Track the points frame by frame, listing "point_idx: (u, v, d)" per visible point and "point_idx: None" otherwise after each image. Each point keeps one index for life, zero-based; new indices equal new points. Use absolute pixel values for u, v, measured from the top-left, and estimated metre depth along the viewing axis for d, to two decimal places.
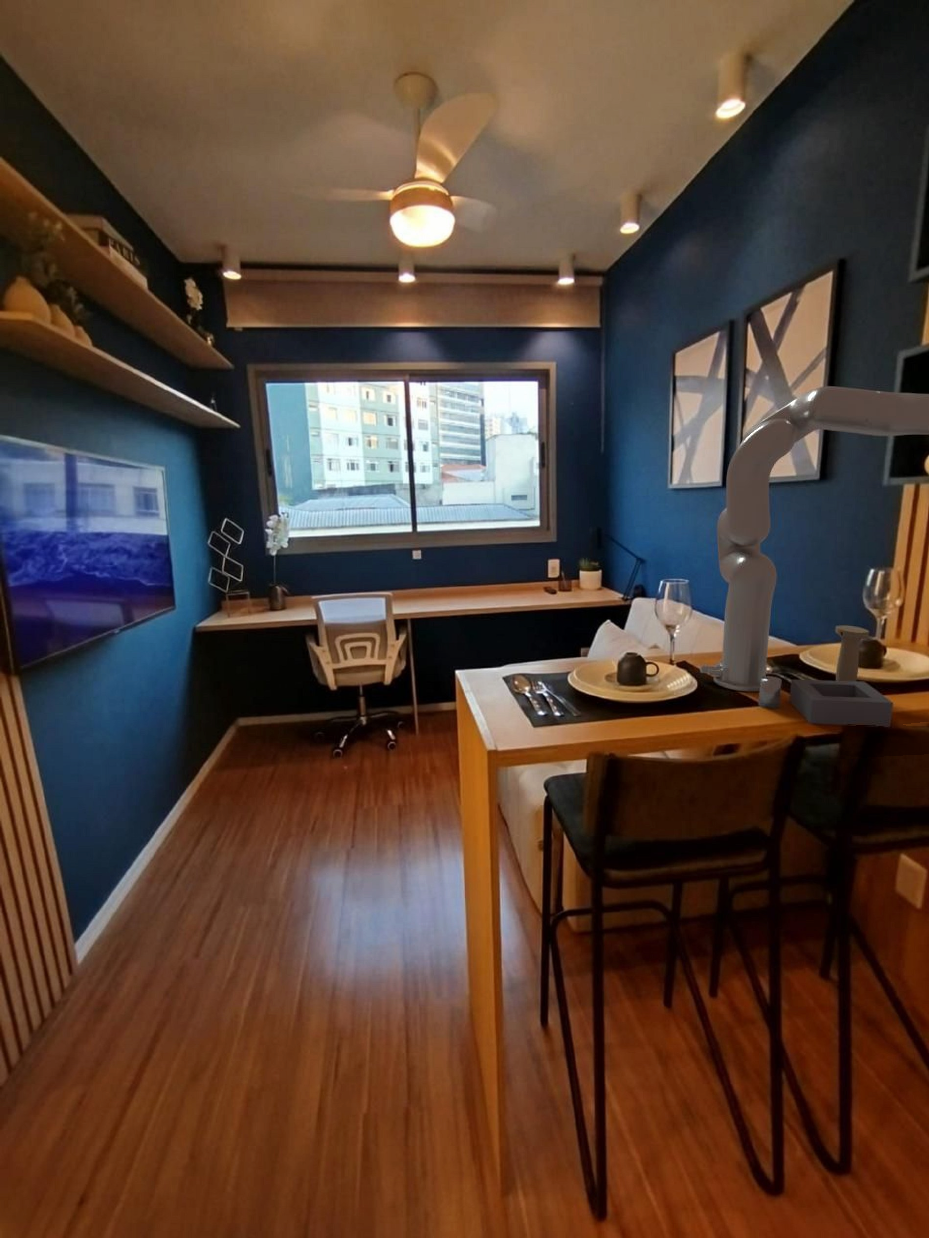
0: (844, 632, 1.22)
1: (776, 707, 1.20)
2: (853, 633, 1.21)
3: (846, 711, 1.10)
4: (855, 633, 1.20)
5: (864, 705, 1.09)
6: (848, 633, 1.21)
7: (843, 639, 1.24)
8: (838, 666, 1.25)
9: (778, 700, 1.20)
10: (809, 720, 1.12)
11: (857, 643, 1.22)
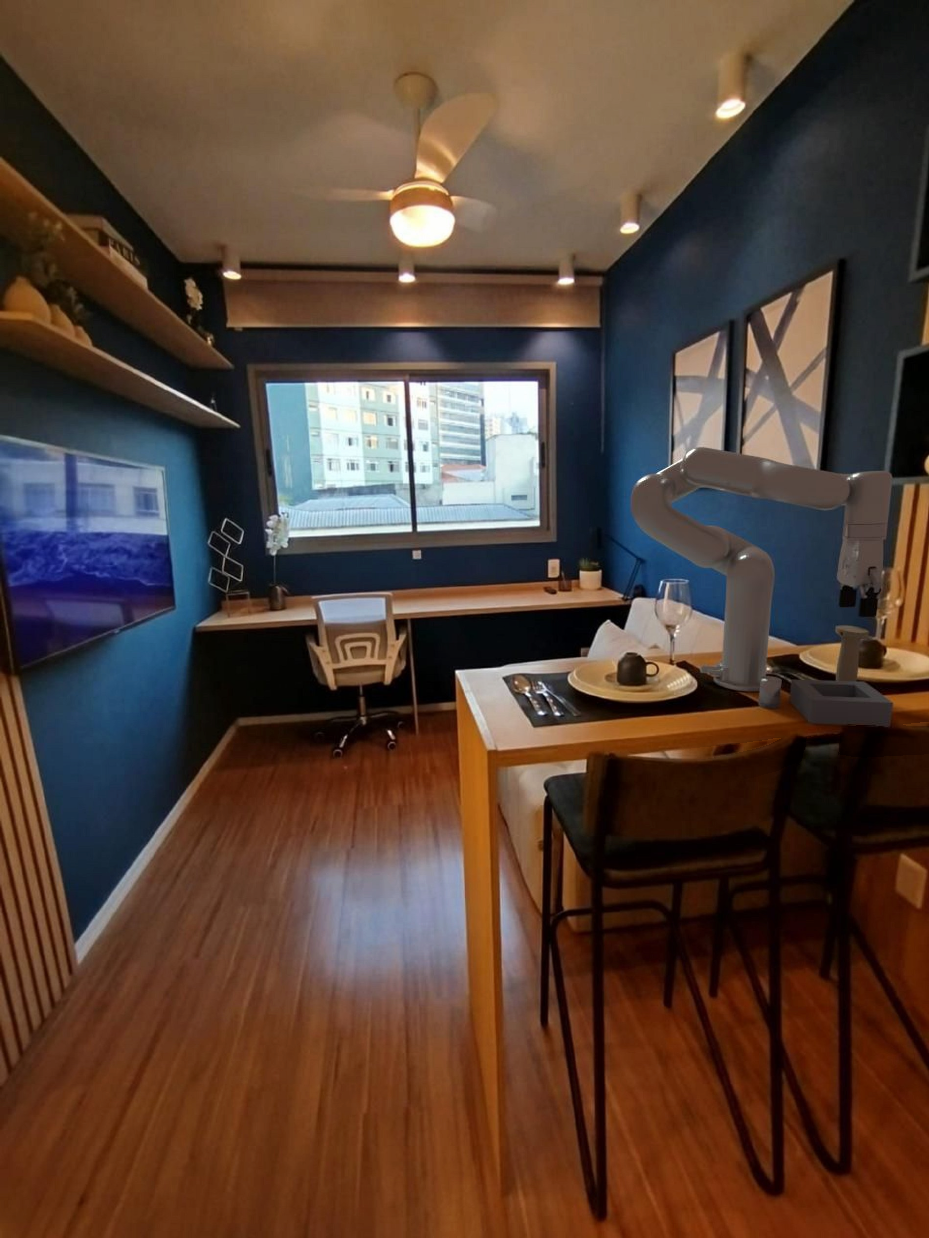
0: (844, 632, 1.22)
1: (776, 707, 1.20)
2: (853, 633, 1.21)
3: (846, 711, 1.10)
4: (855, 633, 1.20)
5: (864, 705, 1.09)
6: (848, 633, 1.21)
7: (843, 639, 1.24)
8: (838, 666, 1.25)
9: (778, 700, 1.20)
10: (809, 720, 1.12)
11: (857, 643, 1.22)
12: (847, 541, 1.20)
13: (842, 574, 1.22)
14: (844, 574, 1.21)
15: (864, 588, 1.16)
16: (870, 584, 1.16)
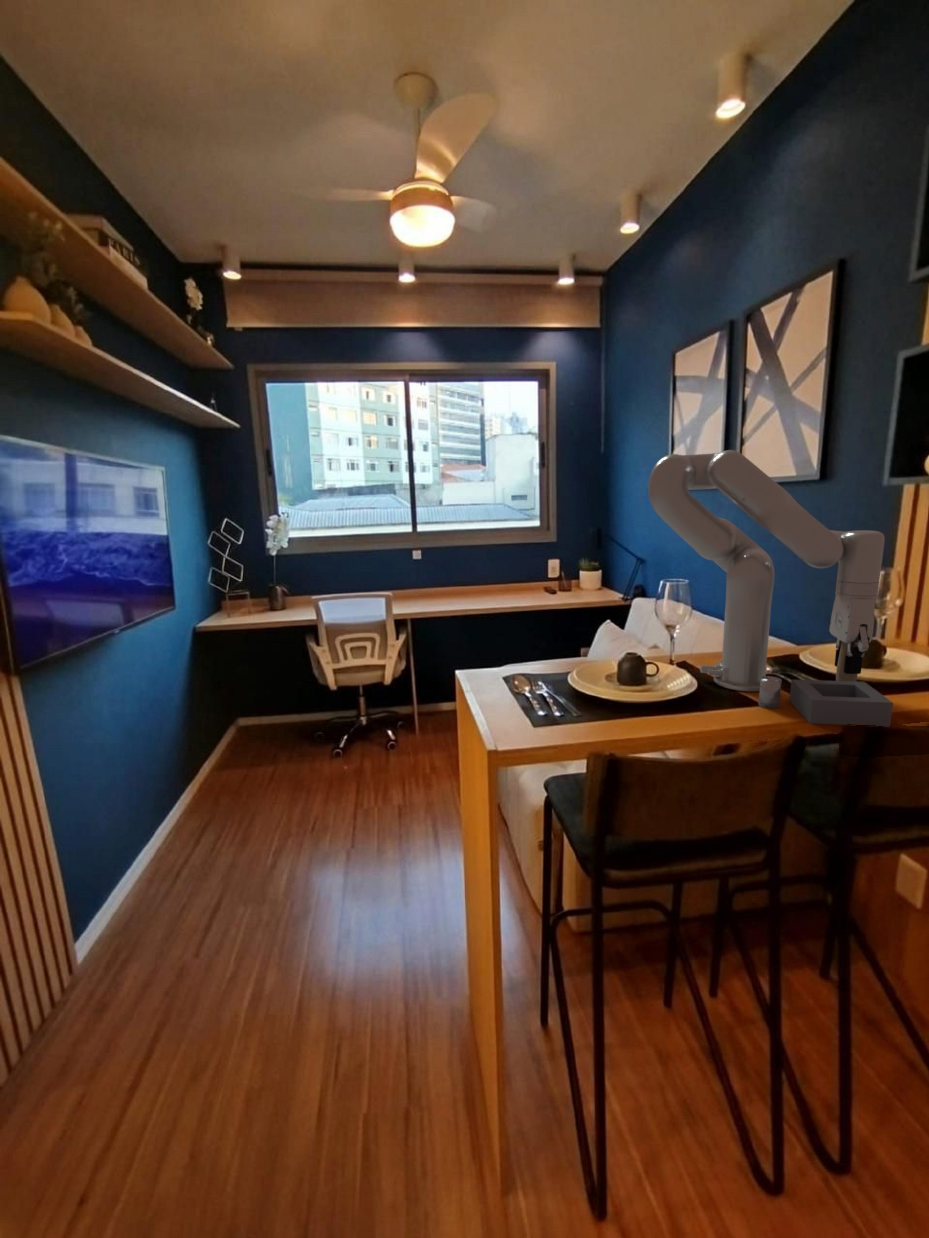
0: None
1: (776, 707, 1.20)
2: None
3: (846, 711, 1.10)
4: None
5: (864, 705, 1.09)
6: None
7: None
8: (838, 666, 1.25)
9: (778, 700, 1.20)
10: (809, 720, 1.12)
11: None
12: (840, 596, 1.23)
13: (834, 628, 1.25)
14: (836, 628, 1.24)
15: (851, 648, 1.21)
16: (858, 643, 1.21)
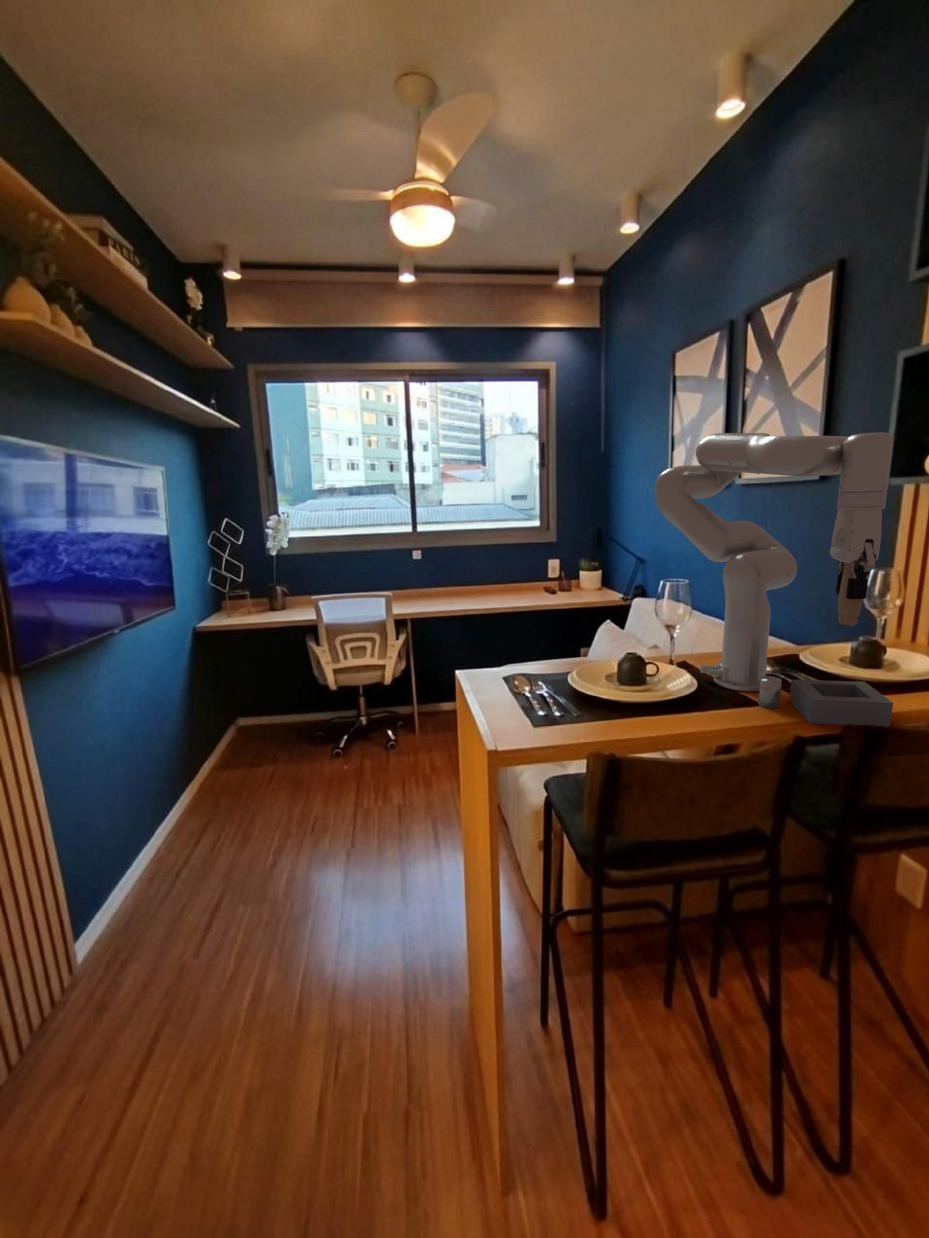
0: None
1: (776, 707, 1.20)
2: None
3: (846, 711, 1.10)
4: None
5: (864, 705, 1.09)
6: None
7: None
8: (840, 592, 1.11)
9: (778, 700, 1.20)
10: (809, 720, 1.12)
11: None
12: (842, 511, 1.08)
13: (836, 549, 1.11)
14: (838, 549, 1.10)
15: (855, 568, 1.07)
16: (863, 563, 1.06)
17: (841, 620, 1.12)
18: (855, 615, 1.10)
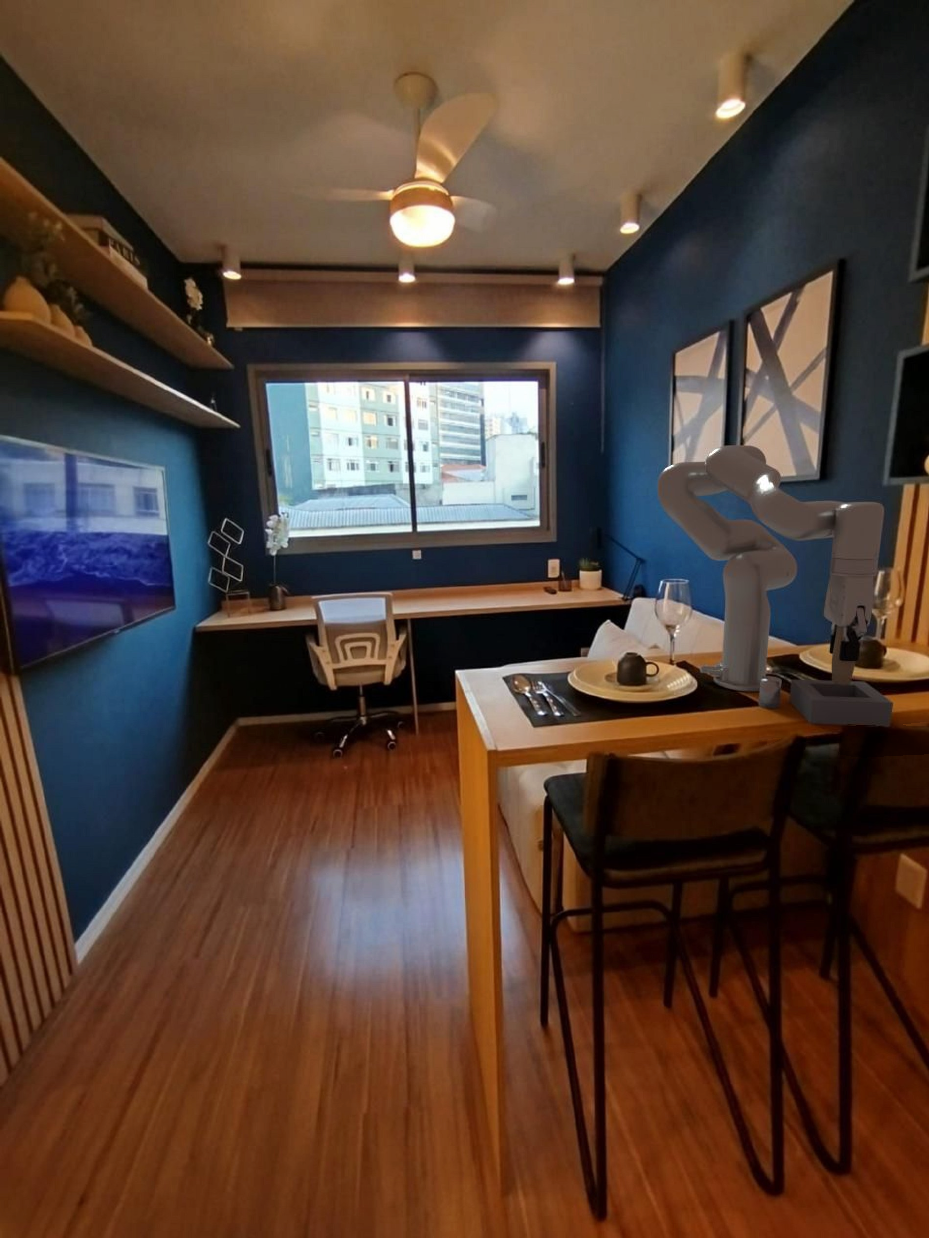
0: None
1: (776, 707, 1.20)
2: None
3: (846, 711, 1.10)
4: None
5: (864, 705, 1.09)
6: None
7: None
8: (834, 653, 1.14)
9: (778, 700, 1.20)
10: (809, 720, 1.12)
11: None
12: (835, 576, 1.11)
13: (829, 611, 1.14)
14: (831, 611, 1.13)
15: (847, 632, 1.09)
16: (855, 627, 1.09)
17: (834, 680, 1.14)
18: (848, 676, 1.13)
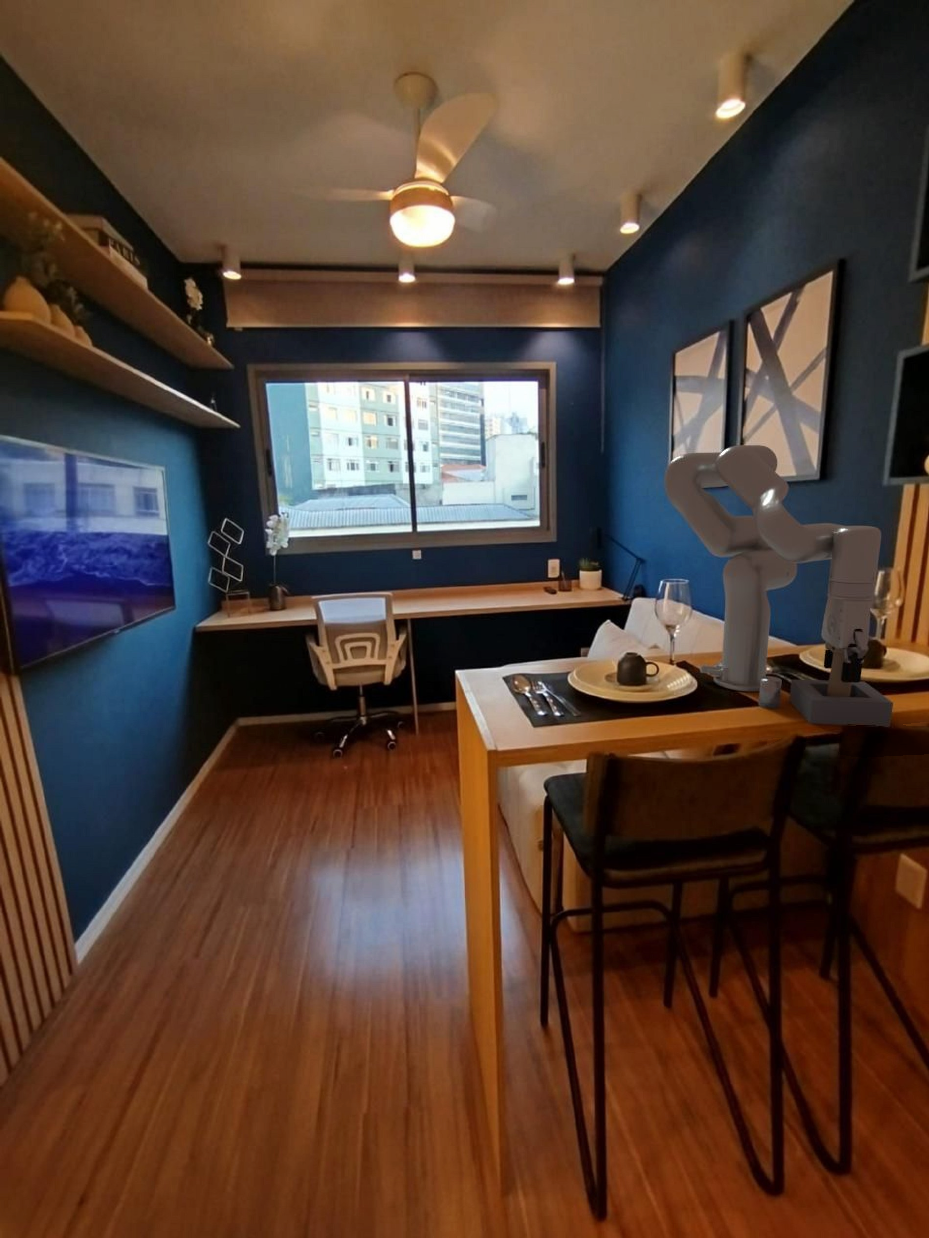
0: None
1: (776, 707, 1.20)
2: None
3: (846, 711, 1.10)
4: None
5: (864, 705, 1.09)
6: None
7: (835, 654, 1.14)
8: (829, 684, 1.15)
9: (778, 700, 1.20)
10: (809, 720, 1.12)
11: None
12: (833, 598, 1.12)
13: (827, 632, 1.15)
14: (829, 633, 1.14)
15: (848, 652, 1.09)
16: (855, 648, 1.09)
17: None
18: None
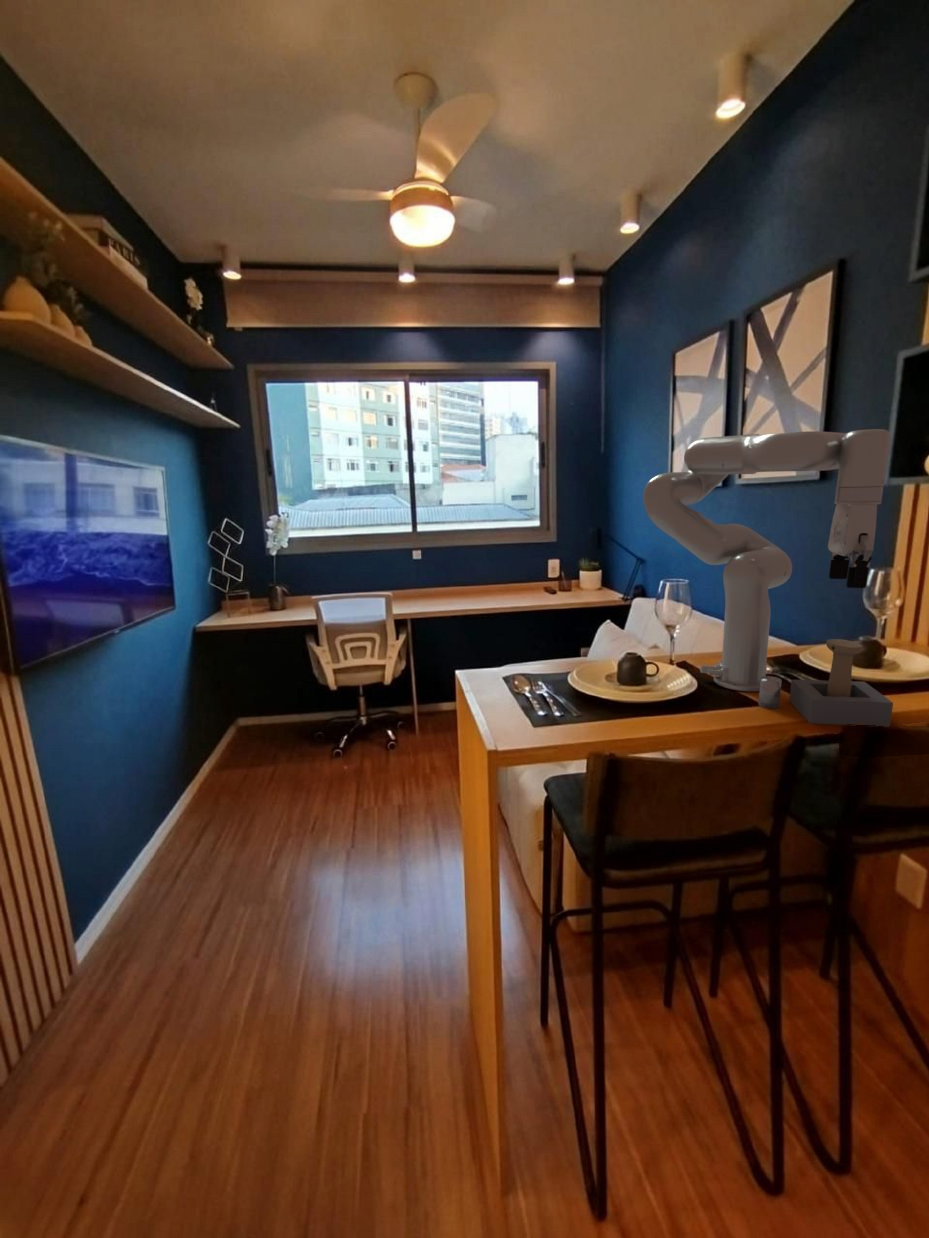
0: (836, 647, 1.12)
1: (776, 707, 1.20)
2: (845, 648, 1.11)
3: (846, 711, 1.10)
4: (848, 648, 1.10)
5: (864, 705, 1.09)
6: (840, 647, 1.11)
7: (835, 654, 1.14)
8: (829, 683, 1.15)
9: (778, 700, 1.20)
10: (809, 720, 1.12)
11: (850, 659, 1.12)
12: (840, 506, 1.11)
13: (833, 542, 1.14)
14: (834, 542, 1.13)
15: (854, 556, 1.08)
16: (861, 552, 1.08)
17: None
18: None
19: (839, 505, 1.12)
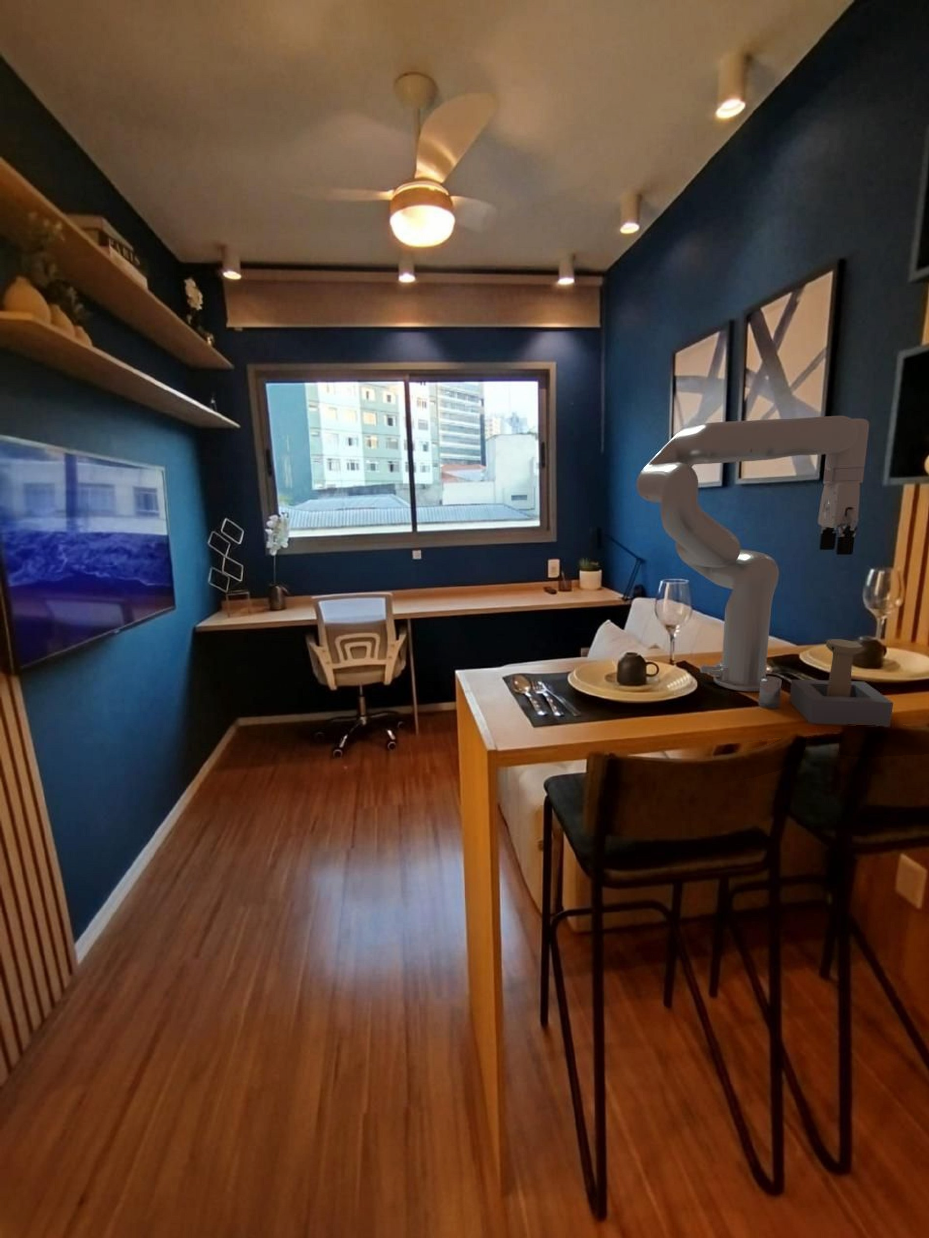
0: (835, 647, 1.12)
1: (776, 707, 1.20)
2: (845, 648, 1.11)
3: (846, 711, 1.10)
4: (847, 648, 1.10)
5: (864, 705, 1.09)
6: (840, 647, 1.11)
7: (834, 654, 1.14)
8: (829, 684, 1.15)
9: (778, 700, 1.20)
10: (809, 720, 1.12)
11: (850, 659, 1.12)
12: (828, 485, 1.30)
13: (822, 517, 1.32)
14: (824, 517, 1.31)
15: (841, 527, 1.26)
16: (847, 524, 1.26)
17: None
18: None
19: (827, 485, 1.30)
